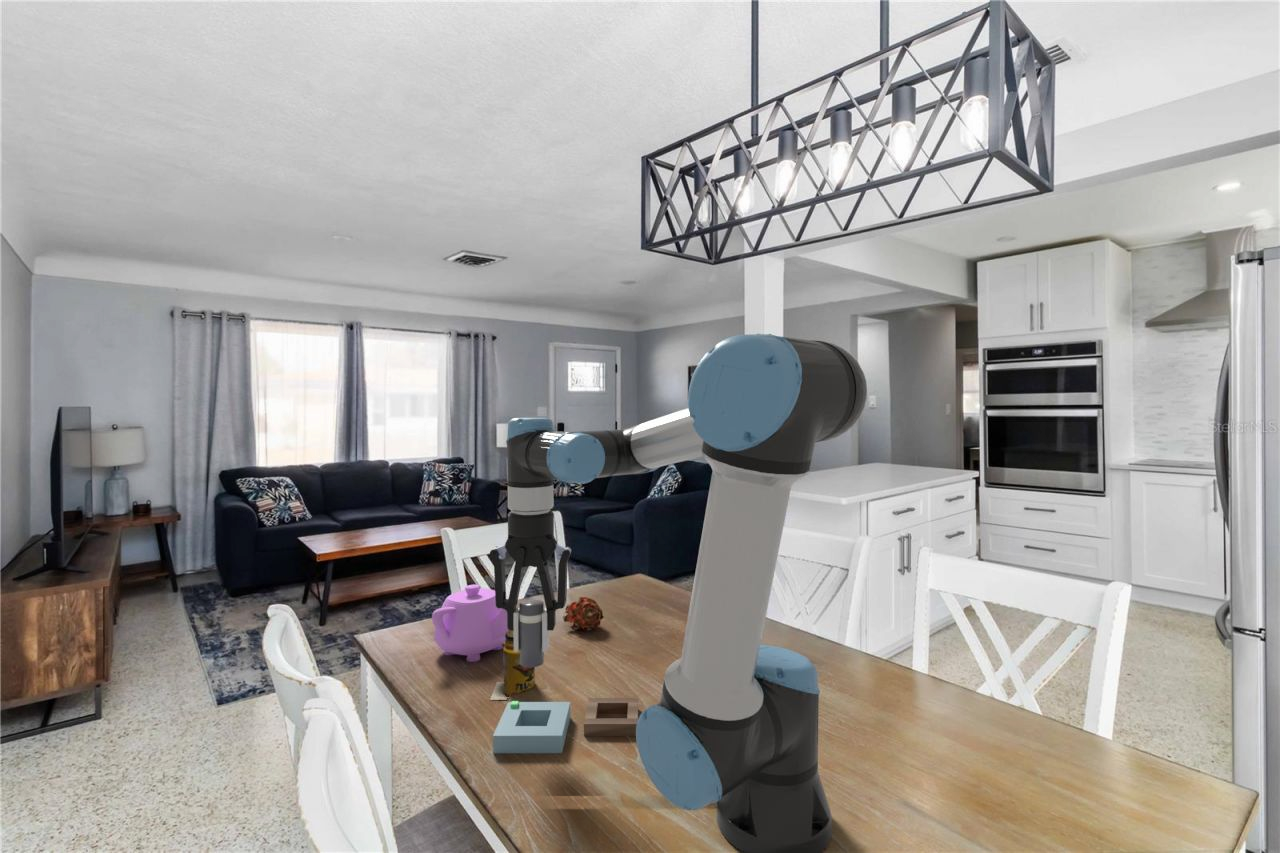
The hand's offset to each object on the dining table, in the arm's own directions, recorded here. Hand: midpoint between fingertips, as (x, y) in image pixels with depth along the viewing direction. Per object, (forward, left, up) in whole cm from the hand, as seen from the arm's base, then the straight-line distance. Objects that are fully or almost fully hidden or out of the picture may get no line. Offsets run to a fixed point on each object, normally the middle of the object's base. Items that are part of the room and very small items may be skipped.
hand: (531, 648), depth 102 cm
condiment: (+18, +7, -16) cm, 25 cm away
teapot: (+36, +20, -16) cm, 44 cm away
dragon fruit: (+52, -3, -16) cm, 54 cm away
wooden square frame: (+4, -13, -16) cm, 21 cm away
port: (0, 0, -16) cm, 16 cm away
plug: (0, 0, -2) cm, 2 cm away
